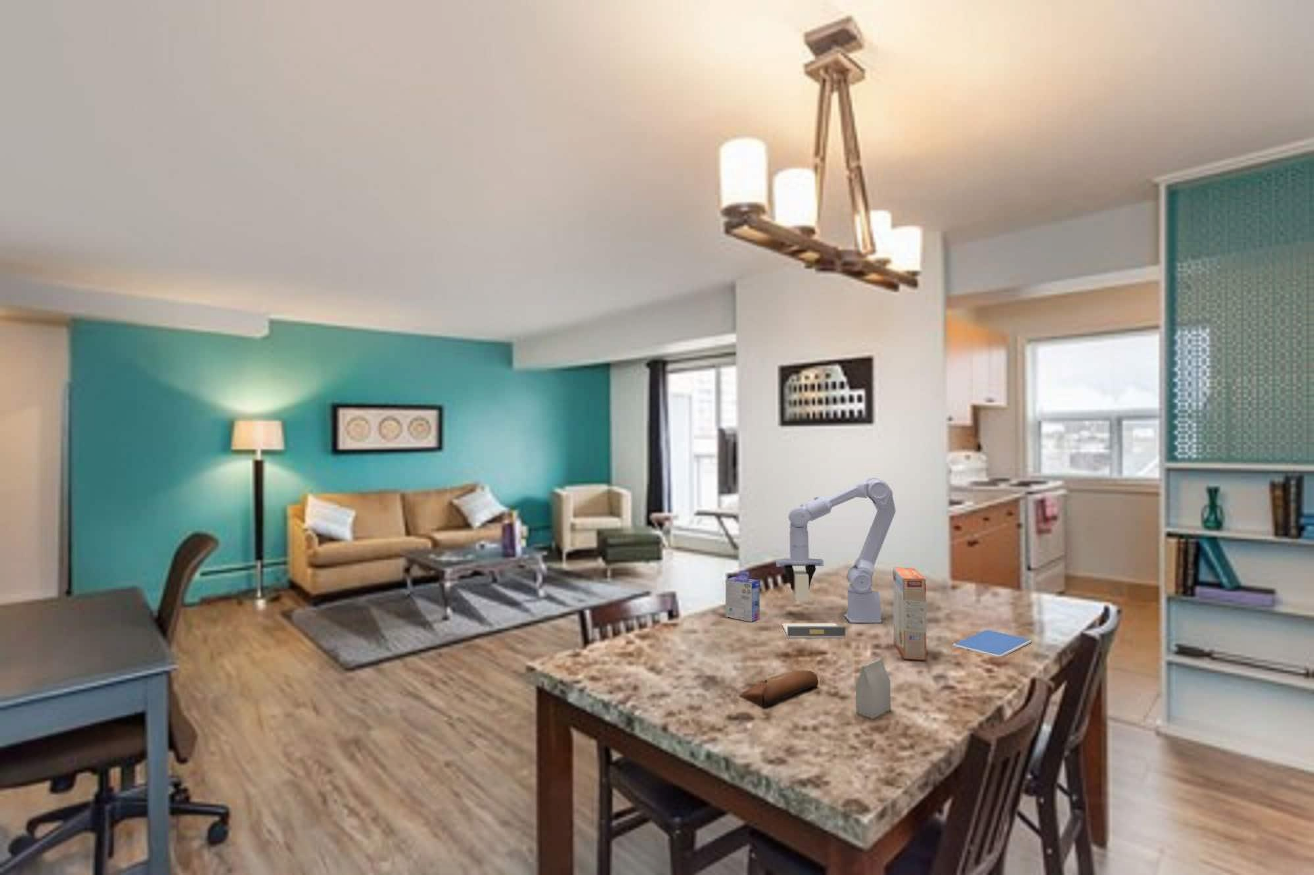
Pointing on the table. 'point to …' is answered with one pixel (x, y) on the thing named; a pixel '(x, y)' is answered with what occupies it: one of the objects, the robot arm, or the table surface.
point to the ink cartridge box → (743, 598)
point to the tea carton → (801, 586)
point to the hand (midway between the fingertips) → (800, 588)
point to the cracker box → (909, 613)
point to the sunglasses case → (780, 687)
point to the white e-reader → (814, 630)
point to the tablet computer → (992, 643)
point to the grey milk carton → (873, 690)
